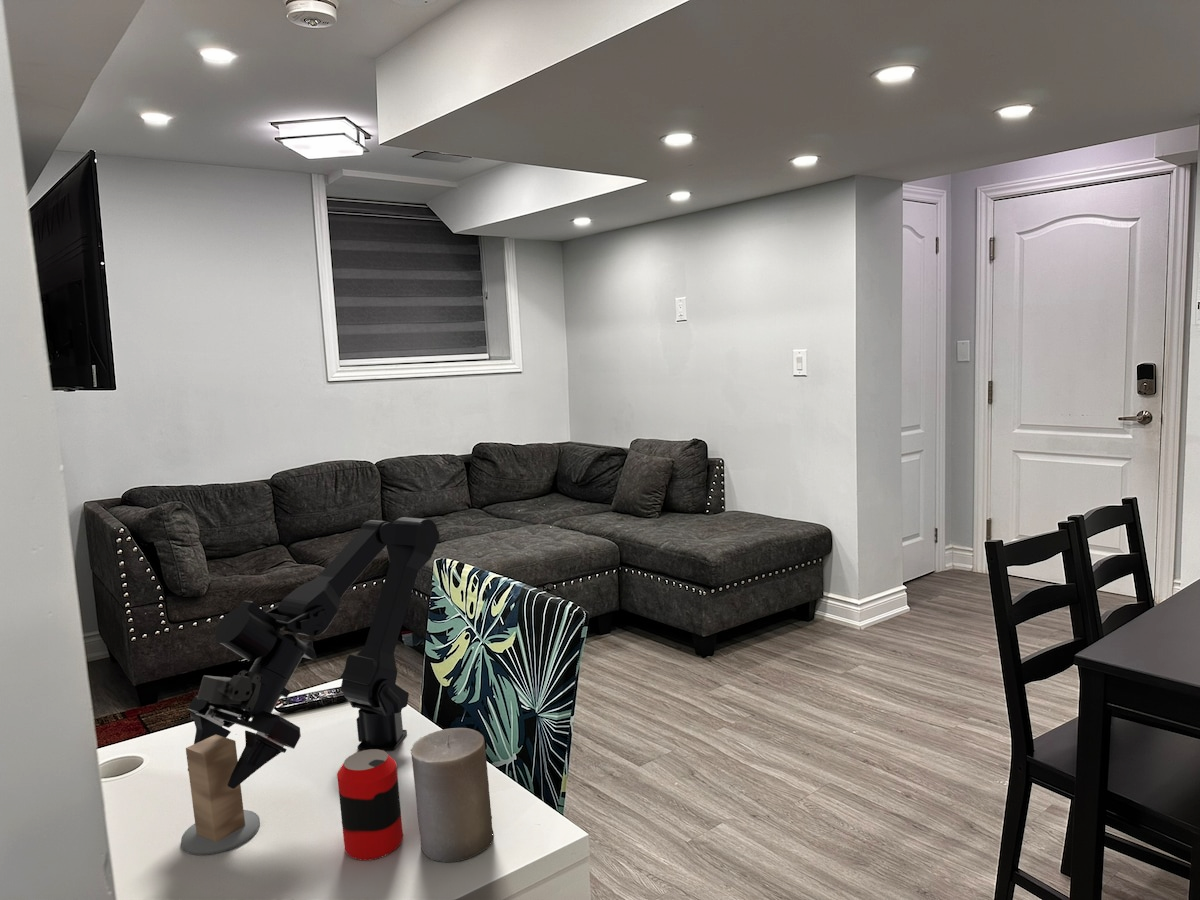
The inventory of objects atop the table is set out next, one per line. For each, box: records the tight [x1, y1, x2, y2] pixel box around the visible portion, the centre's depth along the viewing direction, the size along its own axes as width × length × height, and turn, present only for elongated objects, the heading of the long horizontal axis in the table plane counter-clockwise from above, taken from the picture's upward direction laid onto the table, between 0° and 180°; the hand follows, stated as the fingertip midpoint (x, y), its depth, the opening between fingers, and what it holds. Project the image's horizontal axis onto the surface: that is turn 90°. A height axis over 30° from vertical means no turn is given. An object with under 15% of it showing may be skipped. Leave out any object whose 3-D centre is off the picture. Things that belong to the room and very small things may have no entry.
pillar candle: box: [410, 727, 495, 863], centre depth 111 cm, size 10×10×15 cm
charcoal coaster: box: [180, 809, 261, 856], centre depth 117 cm, size 10×10×1 cm
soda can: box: [336, 749, 404, 861], centre depth 112 cm, size 8×8×12 cm
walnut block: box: [185, 735, 245, 842], centre depth 116 cm, size 4×4×12 cm
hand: (210, 779), depth 115 cm, fingers open, 9 cm apart
